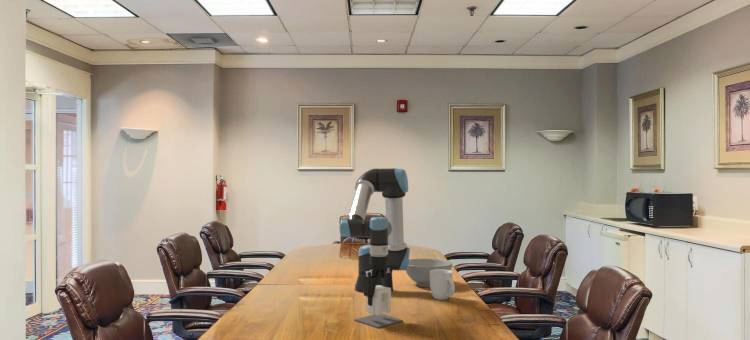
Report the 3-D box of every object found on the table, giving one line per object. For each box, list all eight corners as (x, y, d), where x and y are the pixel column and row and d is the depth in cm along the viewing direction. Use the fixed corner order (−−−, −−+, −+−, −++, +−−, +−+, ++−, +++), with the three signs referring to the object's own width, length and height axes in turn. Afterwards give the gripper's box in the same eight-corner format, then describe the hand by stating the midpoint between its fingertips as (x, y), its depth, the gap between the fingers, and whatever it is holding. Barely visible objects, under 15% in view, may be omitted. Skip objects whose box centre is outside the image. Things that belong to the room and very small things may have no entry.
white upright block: (378, 315, 204) (378, 290, 204) (366, 312, 209) (366, 287, 209) (390, 312, 208) (390, 287, 209) (378, 309, 214) (379, 285, 214)
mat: (354, 320, 209) (354, 319, 209) (379, 314, 218) (379, 313, 218) (377, 328, 199) (377, 326, 199) (402, 321, 208) (403, 320, 208)
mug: (462, 300, 243) (462, 273, 243) (445, 303, 237) (445, 275, 237) (442, 294, 256) (442, 268, 256) (424, 297, 250) (424, 270, 250)
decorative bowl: (394, 281, 286) (394, 260, 286) (436, 278, 297) (436, 257, 297) (417, 291, 261) (417, 268, 262) (462, 287, 272) (462, 264, 272)
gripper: (366, 258, 199) (366, 318, 199) (402, 253, 213) (402, 309, 213) (354, 256, 205) (354, 314, 204) (389, 251, 218) (389, 305, 218)
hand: (378, 311), depth 209 cm, fingers closed on white upright block, 7 cm apart
